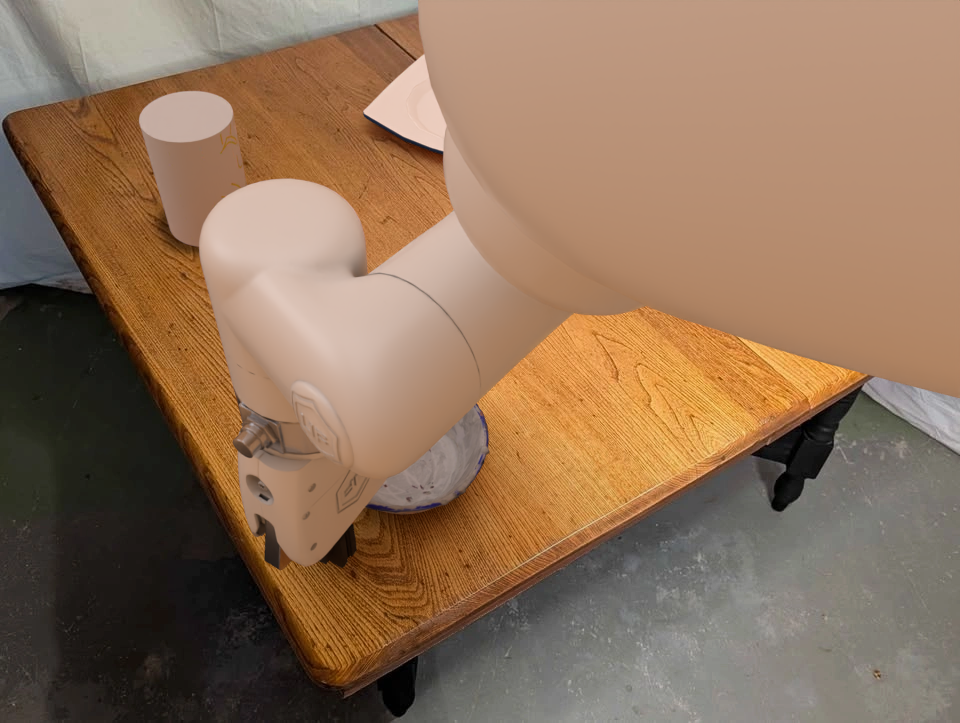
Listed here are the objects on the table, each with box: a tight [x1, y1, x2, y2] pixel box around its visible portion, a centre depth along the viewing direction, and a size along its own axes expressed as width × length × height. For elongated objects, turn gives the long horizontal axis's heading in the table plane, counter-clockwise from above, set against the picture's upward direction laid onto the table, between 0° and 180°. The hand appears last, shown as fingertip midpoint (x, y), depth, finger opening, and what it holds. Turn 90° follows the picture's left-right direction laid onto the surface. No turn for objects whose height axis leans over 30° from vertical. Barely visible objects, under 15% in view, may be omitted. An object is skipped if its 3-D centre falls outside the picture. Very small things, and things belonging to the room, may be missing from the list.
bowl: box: [364, 402, 490, 515], centre depth 65 cm, size 13×13×5 cm
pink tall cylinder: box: [138, 90, 248, 248], centre depth 81 cm, size 8×8×12 cm
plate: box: [362, 53, 447, 156], centre depth 99 cm, size 20×20×3 cm
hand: (332, 550), depth 61 cm, fingers closed
